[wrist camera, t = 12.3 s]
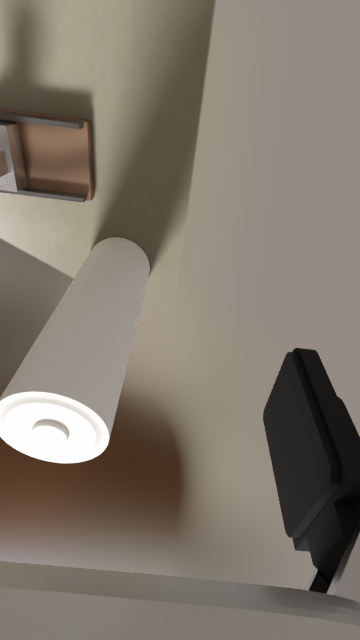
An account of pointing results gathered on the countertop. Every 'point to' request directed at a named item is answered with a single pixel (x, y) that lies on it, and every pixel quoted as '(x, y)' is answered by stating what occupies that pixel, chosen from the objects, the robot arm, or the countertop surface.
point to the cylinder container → (78, 360)
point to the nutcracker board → (54, 155)
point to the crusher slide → (11, 158)
